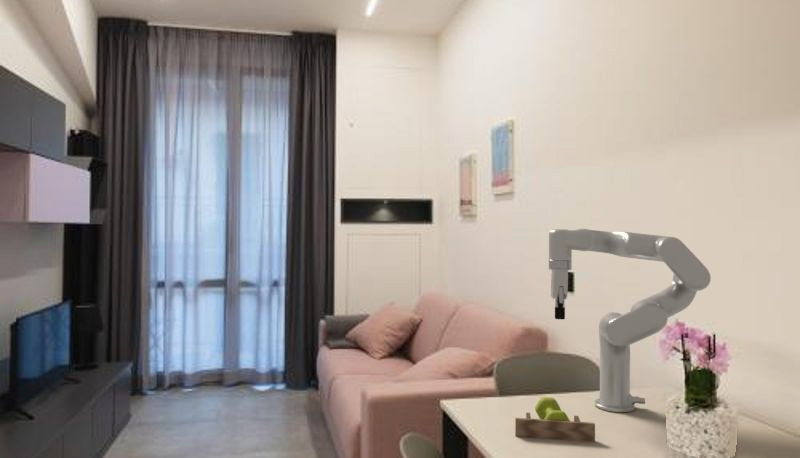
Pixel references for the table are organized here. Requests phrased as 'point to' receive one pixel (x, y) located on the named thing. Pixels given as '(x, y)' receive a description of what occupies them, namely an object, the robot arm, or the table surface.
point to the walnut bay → (555, 429)
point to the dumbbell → (550, 410)
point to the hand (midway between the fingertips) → (559, 318)
